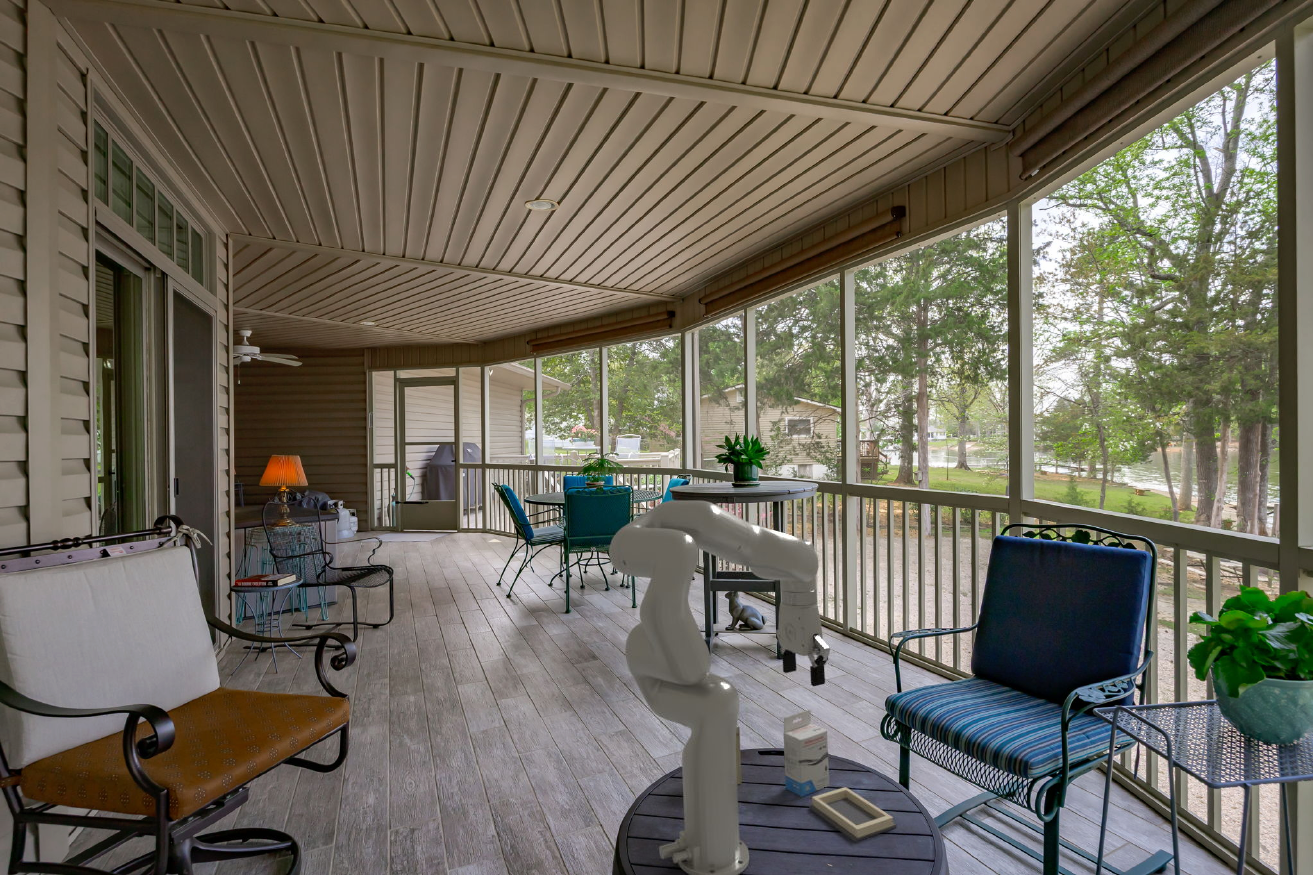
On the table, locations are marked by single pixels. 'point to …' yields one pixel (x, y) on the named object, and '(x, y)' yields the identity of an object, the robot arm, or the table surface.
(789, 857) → the table surface
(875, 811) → the cream picture frame
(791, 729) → the ink box
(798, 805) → the table surface
